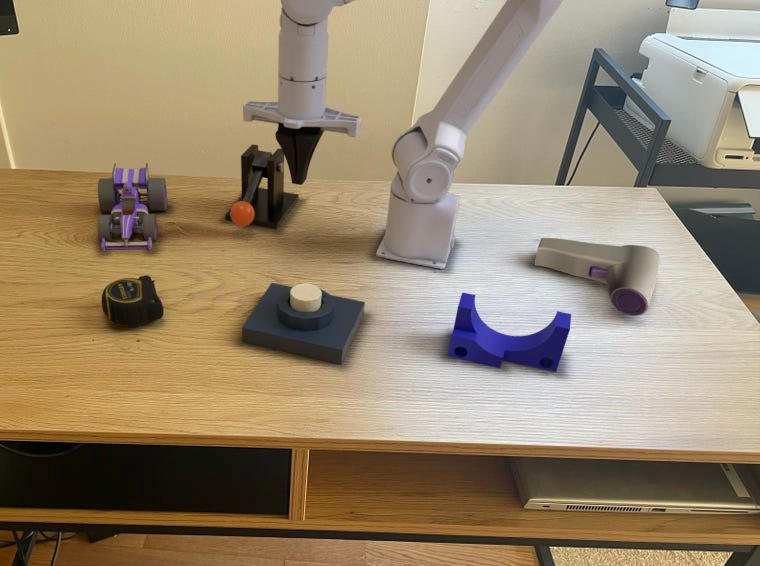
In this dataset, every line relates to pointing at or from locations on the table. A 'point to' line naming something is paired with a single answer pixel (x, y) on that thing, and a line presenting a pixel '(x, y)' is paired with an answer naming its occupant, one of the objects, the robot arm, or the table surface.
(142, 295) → the tape measure
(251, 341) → the control block
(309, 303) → the button
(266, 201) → the bracket
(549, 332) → the blue semicircular cradle
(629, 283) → the infrared thermometer
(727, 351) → the table surface
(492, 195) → the table surface
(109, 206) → the toy race car
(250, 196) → the lever
